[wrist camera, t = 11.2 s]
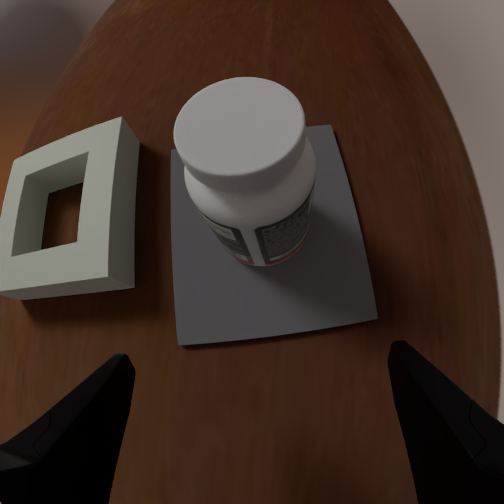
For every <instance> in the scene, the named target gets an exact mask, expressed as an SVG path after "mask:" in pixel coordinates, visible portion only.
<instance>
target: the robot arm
mask: <svg viewBox="0 0 504 504" xmlns="http://www.w3.org/2000/svg"><path fill="white" fill-rule="evenodd" d="M388 369H389V374H390V380H391V386H392V392H393V398H394V403H395V407H396V411H397V414H398V418H399V422H400V425H401V429H402V433H403V437H404V441H405V445H406V449H407V453H408V457H409V461H410V466H411V470H412V474H413V479H414V484H415V488H416V493H417V498H418V504H504V424H502V423H501V422H499V421H498V420H497V419H495V418H494V417H493V416H491V415H490V414H489V413H488V412H486V411H485V410H484V409H483V408H482V407H481V406H479V405H478V404H477V403H476V402H475V401H474V400H473V399H472V400H471V398H470V397H469V396H468V395H467V394H466V393H465V392H464V391H462V390H461V389H460V388H459V387H458V386H457V385H456V384H454V383H453V382H452V381H451V380H450V379H449V378H448V377H446V376H445V375H444V374H443V373H442V372H441V371H440V370H438V369H437V368H436V367H435V366H434V365H433V364H432V363H430V362H429V361H428V360H427V359H426V358H425V357H423V356H422V355H421V354H420V353H419V352H418V351H416V350H415V349H414V348H413V347H412V346H410V345H409V344H408V343H407V342H406V341H404V340H401V341H394V342H393V343H392V344H391V348H390V352H389V356H388ZM134 381H135V368H134V366H133V365H132V363H131V361H130V359H129V357H128V355H126V354H120V353H117V354H115V355H113V356H112V357H111V358H110V359H109V360H107V361H106V362H105V363H104V364H103V365H102V366H100V367H99V368H98V369H97V370H96V371H94V372H93V373H92V374H91V375H90V376H89V377H87V378H86V379H85V380H84V381H83V382H81V383H80V384H79V385H78V386H77V387H76V388H74V389H73V390H72V391H71V392H70V393H68V394H67V395H66V396H65V397H64V398H63V399H61V400H60V401H59V402H58V403H57V404H56V405H54V406H53V407H52V408H51V409H50V410H48V411H47V412H46V413H45V414H44V415H42V416H41V417H40V418H39V419H38V420H36V421H35V422H34V423H32V424H31V425H30V426H28V427H27V428H26V429H24V430H23V431H21V432H20V433H18V434H17V435H16V436H14V437H13V438H11V439H10V440H8V441H7V442H5V443H3V444H1V445H0V504H108V503H109V498H110V493H111V488H112V483H113V479H114V474H115V470H116V465H117V461H118V456H119V452H120V448H121V444H122V440H123V436H124V432H125V428H126V424H127V420H128V416H129V412H130V407H131V400H132V394H133V387H134Z"/></svg>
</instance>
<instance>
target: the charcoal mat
mask: <svg viewBox="0 0 504 504" xmlns="http://www.w3.org/2000/svg"><path fill="white" fill-rule="evenodd" d="M305 133H306V136H307V138H308V139H309V141H310V143H311V145H312V148H313V150H314V154H315V159H316V177H315V186H314V194H313V202H312V210H311V218H310V226H309V231H308V234H307V237H306V239H305V241H304V243H303V244H302V246H301V247H300V249H299V250H298V251H297V252H296V253H295V254H294V255H292V256H291V257H290V258H288V259H287V260H285V261H283V262H280V263H278V264H274V265H269V266H254V265H249V264H246V263H243V262H241V261H239V260H237V259H236V258H234V257H233V256H232V255H231V254H229V253H228V252H227V250H226V249H225V248H224V247H223V245H222V244H221V242H220V241H219V240H218V238H217V237H216V235H215V234H214V232H213V231H212V229H211V228H210V226H209V225H208V223H207V222H206V220H205V219H204V217H203V216H202V214H201V213H200V212H199V210H198V209H197V207H196V206H195V204H194V203H193V201H192V199H191V197H190V195H189V193H188V190H187V187H186V183H185V177H184V166H185V165H184V163H183V161H182V159H181V157H180V155H179V153H178V151H177V149H172V150H171V241H172V267H173V286H174V302H175V315H176V328H177V339H178V345H193V344H205V343H216V342H227V341H236V340H246V339H254V338H263V337H271V336H278V335H286V334H293V333H300V332H306V331H313V330H319V329H325V328H331V327H337V326H343V325H348V324H354V323H359V322H364V321H370V320H375V319H378V315H377V309H376V303H375V297H374V291H373V286H372V281H371V275H370V270H369V265H368V261H367V256H366V251H365V247H364V242H363V238H362V233H361V229H360V225H359V221H358V217H357V213H356V209H355V205H354V201H353V197H352V193H351V190H350V186H349V183H348V179H347V175H346V172H345V168H344V165H343V162H342V158H341V155H340V152H339V149H338V145H337V142H336V139H335V136H334V133H333V130H332V127H331V125H320V126H310V127H305Z"/></svg>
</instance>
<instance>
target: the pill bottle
mask: <svg viewBox="0 0 504 504" xmlns="http://www.w3.org/2000/svg"><path fill="white" fill-rule="evenodd" d="M174 143H175V146H176V149H177V151H178V153H179V155H180V157H181V159H182V161H183V163H184V165H185V166H184V177H185V183H186V187H187V190H188V193H189V195H190V197H191V199H192V201H193V203H194V204H195V206H196V207H197V209H198V210H199V212H200V213H201V214H202V216H203V217H204V219H205V220H206V222H207V223H208V225H209V226H210V228H211V229H212V231H213V232H214V234H215V235H216V237H217V238H218V240H219V241H220V242H221V244H222V245H223V247H224V248H225V249H226V250H227V252H228V253H229V254H231V255H232V256H233V257H234V258H236V259H237V260H239V261H241V262H243V263H246V264H249V265H254V266H269V265H274V264H278V263H280V262H283V261H285V260H287V259H288V258H290V257H291V256H292V255H294V254H295V253H296V252H297V251H298V250H299V249H300V247H301V246H302V244H303V243H304V241H305V239H306V237H307V234H308V231H309V226H310V218H311V210H312V202H313V194H314V186H315V177H316V159H315V154H314V150H313V148H312V145H311V143H310V141H309V139H308V138H307V136H306V133H305V116H304V111H303V108H302V106H301V104H300V102H299V101H298V99H297V98H296V97H295V96H294V94H293V93H291V92H290V91H289V90H288V89H286V88H285V87H283V86H281V85H280V84H277V83H275V82H273V81H270V80H266V79H262V78H254V77H238V78H231V79H227V80H223V81H220V82H217V83H214V84H212V85H210V86H208V87H206V88H204V89H202V90H201V91H199V92H198V93H197V94H195V95H194V96H193V97H192V98H191V99H190V100H189V101H188V102H187V103H186V104H185V105H184V106H183V108H182V109H181V111H180V113H179V115H178V117H177V119H176V122H175V126H174Z"/></svg>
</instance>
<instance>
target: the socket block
mask: <svg viewBox="0 0 504 504" xmlns="http://www.w3.org/2000/svg"><path fill="white" fill-rule="evenodd" d="M139 146H140V142H139V140H138V139H137V137H136V136H135V135H134V133H133V132H132V130H131V129H130V127H129V126H128V124H127V123H126V122H125V120H124V119H123V117H119V118H116V119H113V120H110V121H107V122H104V123H101V124H98V125H95V126H93V127H90V128H87V129H85V130H82V131H79V132H77V133H74V134H72V135H69V136H67V137H64V138H62V139H59V140H57V141H55V142H52V143H50V144H48V145H45V146H43V147H41V148H39V149H37V150H34V151H32V152H30V153H28V154H26V155H24V156H22V157H20V158H18V159H16V160H14V163H13V166H12V170H11V174H10V177H9V181H8V186H7V190H6V194H5V199H4V203H3V208H2V213H1V218H0V295H3V296H6V297H10V298H13V299H17V300H28V299H38V298H48V297H58V296H67V295H76V294H85V293H94V292H103V291H112V290H121V289H129V288H135V272H134V235H135V202H136V184H137V169H138V157H139ZM82 182H84V184H83V191H82V199H81V207H80V216H79V226H78V238H77V242H76V243H71V244H66V245H62V246H57V247H53V248H48V249H44V250H41V245H42V236H43V228H44V220H45V213H46V207H47V201H48V195H49V193H51V192H54V191H57V190H60V189H63V188H66V187H69V186H73V185H76V184H79V183H82Z"/></svg>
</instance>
